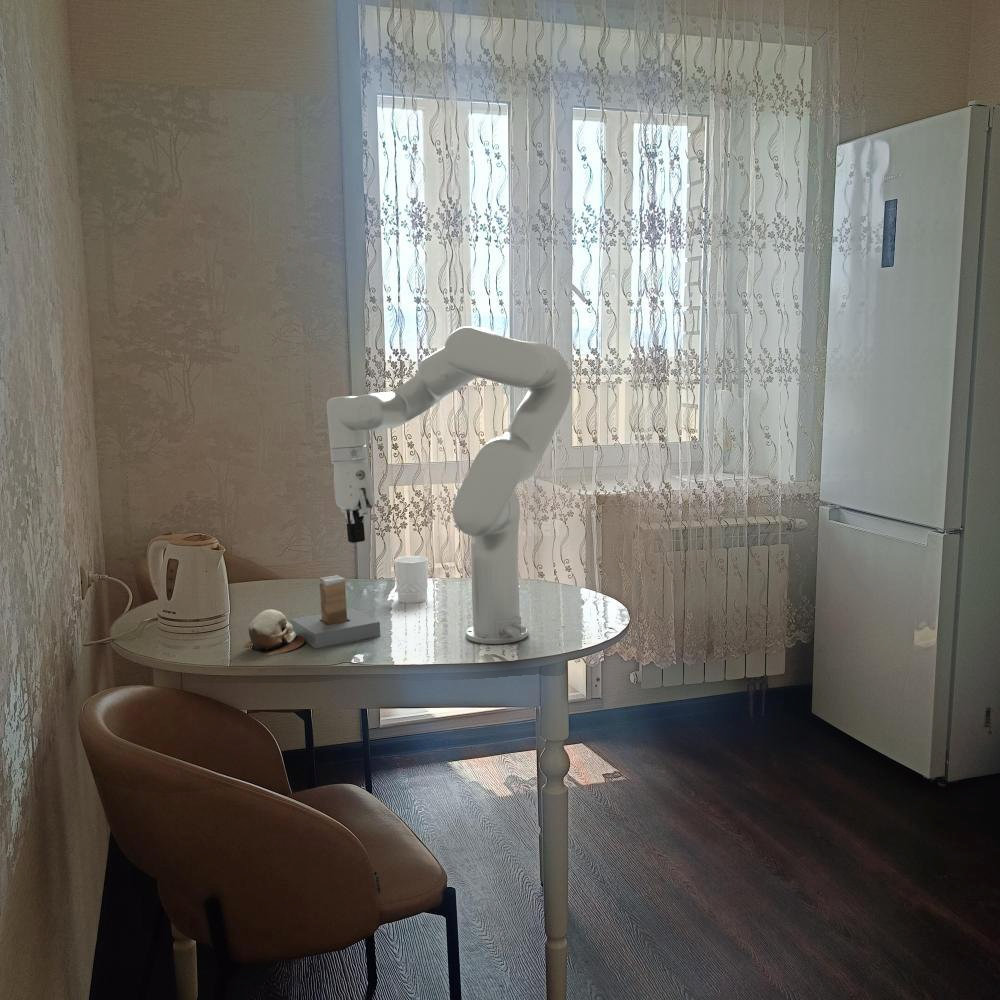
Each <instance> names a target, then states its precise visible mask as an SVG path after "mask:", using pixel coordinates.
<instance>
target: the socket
mask: <svg viewBox="0 0 1000 1000" xmlns="http://www.w3.org/2000/svg"><path fill="white" fill-rule="evenodd" d="M346 610H347V622H343V623H337V624H332V625H326V624H325V623H323V622H322V615H321V613H318V614H311V615H307V616H300V617H295V618H291V619H290V624H291V625H292V628H293V631H294V632H295V633H296V635H299V636H302V637H303V638H304V639H305V642H304V643H307V644H308V645H310V646H311V647H313V648H314V649H319V648H325V647H330V646H335V645H342V644H346V643H351V642H352V643H353V642H357V641H361V639H362V640H365V639H367V638H368V639H372V638H376V637H377V638H378V637H381V625H380V624H381V623H380V621H379V620H377V619H375V618H373V617H370V616H369V615H367V614H365V613H364V612H361V611H359V610H358V609H356V608H352V607H351V608H346Z"/></svg>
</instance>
